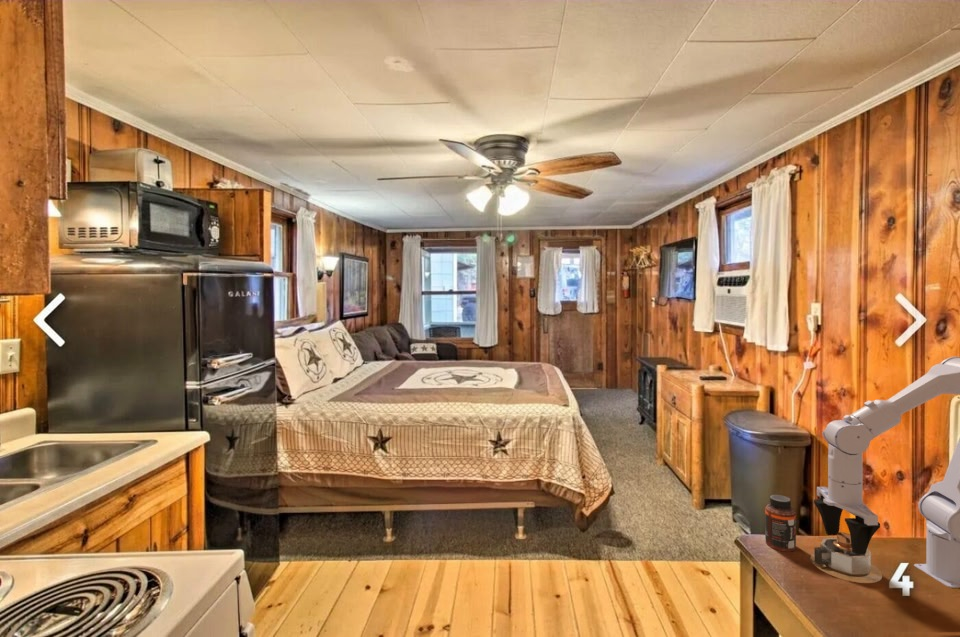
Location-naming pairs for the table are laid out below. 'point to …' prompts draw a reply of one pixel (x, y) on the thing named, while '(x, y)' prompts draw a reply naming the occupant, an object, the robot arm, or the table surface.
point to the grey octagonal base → (845, 563)
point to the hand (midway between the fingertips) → (845, 543)
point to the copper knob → (843, 542)
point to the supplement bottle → (780, 524)
